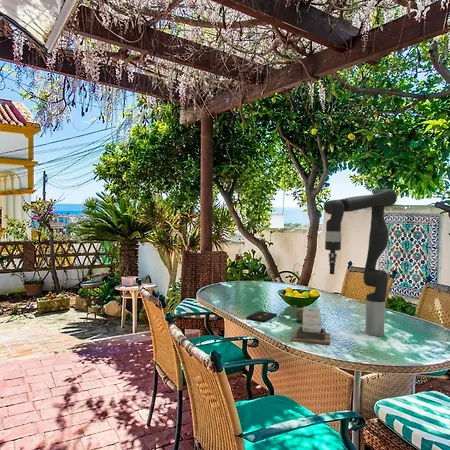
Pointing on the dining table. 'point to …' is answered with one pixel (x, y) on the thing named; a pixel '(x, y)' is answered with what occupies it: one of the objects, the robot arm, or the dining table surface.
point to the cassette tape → (261, 316)
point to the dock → (311, 337)
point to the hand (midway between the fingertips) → (332, 273)
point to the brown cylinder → (300, 315)
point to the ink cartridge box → (311, 320)
